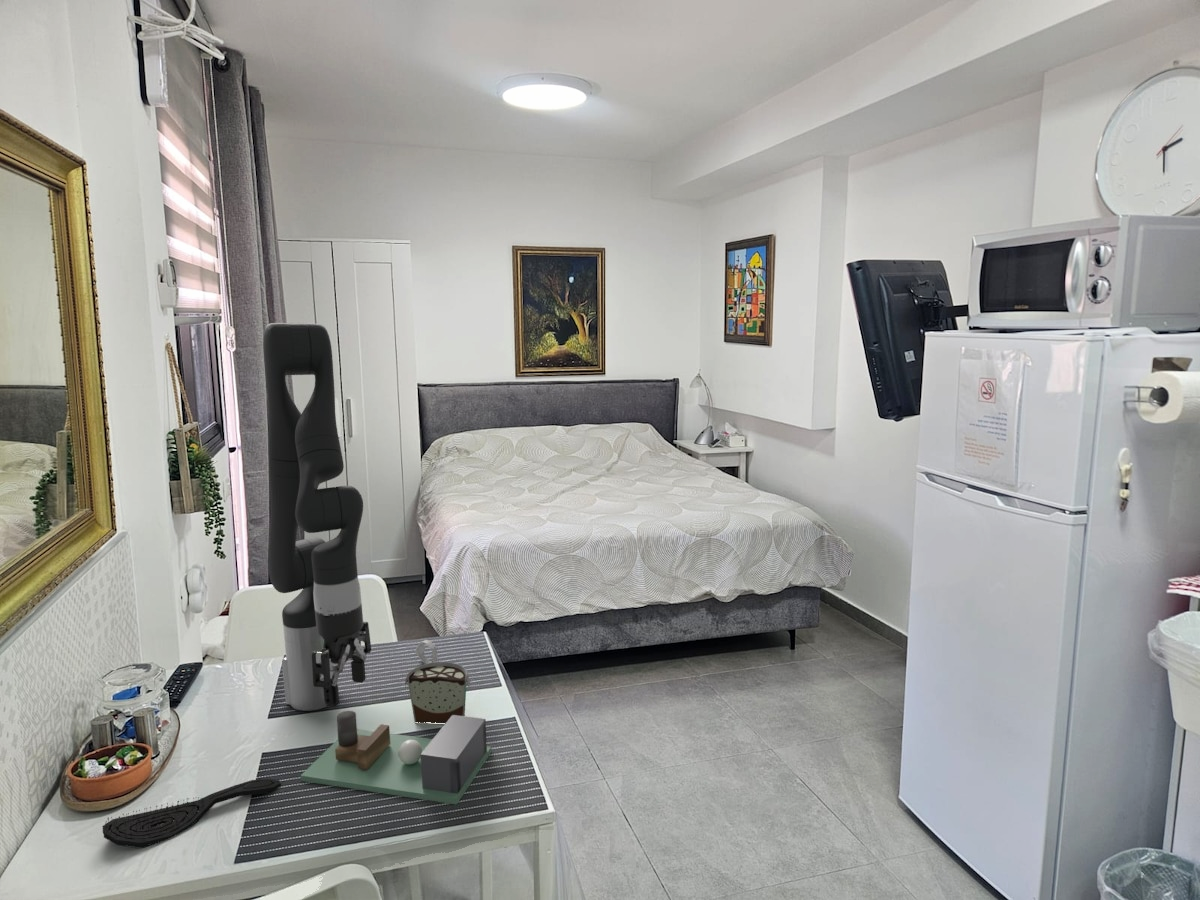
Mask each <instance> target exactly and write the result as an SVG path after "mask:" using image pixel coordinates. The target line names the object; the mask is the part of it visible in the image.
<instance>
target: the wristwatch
mask: <svg viewBox="0 0 1200 900" xmlns="http://www.w3.org/2000/svg"><path fill="white" fill-rule="evenodd" d="M426 646H427V647H428V648H429V649H430V651H431V655H430V658H431V660H429V659H428V658H427V657H426V655H425V650H426ZM414 652H415V654H416V655H417V657H418V658H419V659H420V660H421V662H422V663H423V664H428V663H434V662H437V660H438V648H437V647H436V645H435V644H434V643H433V642H432V641H431V640H428V639H425V640H423V641H421V642H419V643H418V644H417V646H416V648H415V650H414Z"/></svg>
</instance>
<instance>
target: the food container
mask: <svg viewBox="0 0 1200 900" xmlns="http://www.w3.org/2000/svg"><path fill="white" fill-rule="evenodd" d="M470 684H471V680H470V678H469V673H468V672H467V670H466V668H465V667H464V666H463V665H460V664H458V663H456V662H455V663H454V662H448V661H435V662H433V663H428V664H425V663H423V664H422V665H419V666H417V667H415V668H413V669H411V670H410V671H408V673H407V674H406V677H405V682H404V685H408V691H409V698H410V703H411V708H412V713H413V714H412V715H413V719H414V723H415V722H418V723H419V722H420V723H424V722H425V723H426V722H431V723H435V722H436V723H446V722H447V721H448V720H449V719H450V717H451V716H452V715H457V716H465V713H466V700H467V699H466V698H467V697H466V696H467V687H468V688H469V687H471V686H470Z"/></svg>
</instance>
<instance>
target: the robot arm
mask: <svg viewBox="0 0 1200 900" xmlns="http://www.w3.org/2000/svg"><path fill="white" fill-rule="evenodd" d="M262 337H263V338H262V349H263V350H262V351H263V363H264V365H263V366H264V372H265V373H264V375H265V387H266V395H267V410H268V411H267V412H268V415H267V416H268V440H267V441H268V443H267V444H268V445H267V446H268V449H267V451H268V452H267V453H268V477H269V491H270V492H269V497H270V501H269V502H270V518H269V519H270V522H269V535H268V537H269V538H268V550H267V569H268V570H267V571H268V575H269V576H268V577H269V579H270V582H271V584H272V587H273V588H274V589H275V590H276V591H277V592H279V594H287V593H293V592H296V591H299V590H300V593H299V594H298V595H297V596H295V597H294V598H293V599H292V600H291V601H289V602H288V603H287V604H286V605H284V607H283V609H282V612H281V619H282V627H283V636H284V647H285V656H284V657H283V658H282V660H281V665H282V676H283V677H282V678H283V688H284V689H283V690H284V697H285V699H284V700H285V704H286V705H289V706H291V707H292V708H293V709H295V710H298V711H301V712H302V711H303V712H304V711H305V712H307V711H309V712H310V711H317V710H320V709H324V708H326V707H337V706H339V704H340V698H339V695H340V691H339V677H340V674H341V673H342V672H343V671H344V669H345V664H346V663H347V662H348V660H351V661H350V667H351V668H350V669H351V678H352V681H353V682H354V683H363V682H365V681H366V667H365V661H366V660H367V654H370V653H371V651H372V644H371V636H370V635H371V634H370V627H369V622H367V621H364V618H363V617H364V615H363V603H362V594H361V593H362V592H361V586H360V581H359V577H358V576H359V574H358V565H357V544H358V536H359V531H360V526H361V522H362V518H363V513H364V499H363V497H362V494H361V492H360V491H359V490H358V489H357V488H356V487H354V486H352V485H340V486H334V487H333V486H332V487H323V488H319V486H320V484H322V483H327V482H328V481H330V480H333V479H335V478H337V477H339V476H340V475H341V474H342V473H343V471H344V465H345V464H344V459H343V453H342V448H341V442H340V438H339V432H338V426H337V418H336V416H337V415H336V396H335V392H336V391H335V379H334V361H333V350H332V342H331V340H330V339H331V338H330V335H329V331H328V330H327V329H326V327H325V326H324V325H322V324H320V323H308V322H307V323H306V322H305V323H304V322H300V323H299V322H297V323H296V322H270V323H269V324H267V325H266V326H265V328H264V333H263V336H262ZM306 375H307V376H311V375H312V376H314V388H313V390H312V394H311V395H310V398H309V400H308V402H307V404H306V405H305V407H304V408H303V411H302V412H301V411H300V410H299V409H298V407H297V405H296V403H295V402H294V400H293V398H292V397H291V394H290V392H289V390H288V389H289V388H288V387H287V386H288V385H287V381H286V379H287V378H286V376H306ZM298 528H300V529H301V530H302V531H304V532H305V533H308V534H315V533H323V532H328V531H335V530H340V531H339V533H338V535H336V536H335V537H334V538H332V539H330V540H327V541H325V540H324V539H323V538H321V537H319V536H312V537H308V538H304V539H300V540H297V534H298ZM361 642H363V643H364V645H362V643H361Z"/></svg>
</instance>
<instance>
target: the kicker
mask: <svg viewBox="0 0 1200 900" xmlns="http://www.w3.org/2000/svg"><path fill="white" fill-rule="evenodd" d="M336 727H337V740H338V743H339V746H338V747H337V748H336V749H335V754H336V760H342V761H349V762H356V763H358V768H359V769H365V770H367V769H368V768H369V767H370V766H371V765H372V764H373V763H374V762H375V760H376V759H377V758H378V757H379V756H380V755H381V754H382V753H383V752H384V750H385V749H386V748H387V747H388V746H389V745H390V734H391V732H390V725H389V724H380V725H379V726H378V727H376V729H375V730H373V731H374V732H373V733H372V734H371V735H370V736H366V735H358V734H357V729H358V728H357V727H358V726H357V714H356V711H354V710H344V711H341V712H339V713H338V714H337V715H336Z"/></svg>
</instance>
